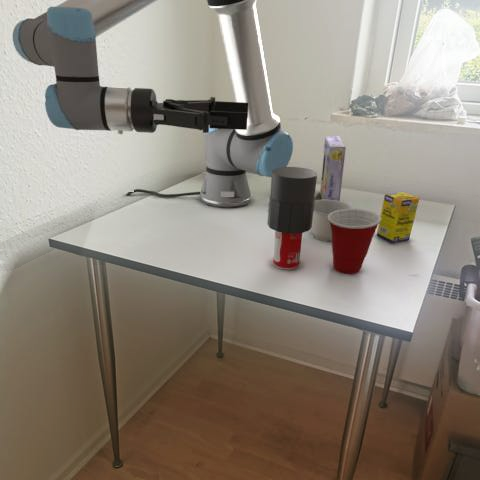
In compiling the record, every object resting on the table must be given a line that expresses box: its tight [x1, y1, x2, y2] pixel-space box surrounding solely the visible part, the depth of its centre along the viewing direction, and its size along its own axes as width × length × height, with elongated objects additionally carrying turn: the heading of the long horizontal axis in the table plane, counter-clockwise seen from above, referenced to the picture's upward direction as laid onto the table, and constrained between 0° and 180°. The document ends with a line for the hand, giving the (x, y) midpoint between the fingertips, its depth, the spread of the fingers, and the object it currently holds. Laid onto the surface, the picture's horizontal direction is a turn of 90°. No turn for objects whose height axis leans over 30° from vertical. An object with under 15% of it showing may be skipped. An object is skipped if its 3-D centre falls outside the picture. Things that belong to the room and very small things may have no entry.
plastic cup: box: [328, 208, 381, 275], centre depth 100 cm, size 11×11×12 cm
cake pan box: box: [319, 135, 347, 201], centre depth 141 cm, size 19×5×18 cm, turn 175°
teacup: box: [308, 198, 354, 242], centre depth 117 cm, size 14×11×8 cm
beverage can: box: [272, 230, 303, 270], centre depth 99 cm, size 6×6×15 cm
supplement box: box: [376, 191, 420, 244], centre depth 117 cm, size 6×6×11 cm
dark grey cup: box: [267, 166, 318, 234], centre depth 96 cm, size 9×9×11 cm
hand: (247, 115), depth 88 cm, fingers open, 13 cm apart
